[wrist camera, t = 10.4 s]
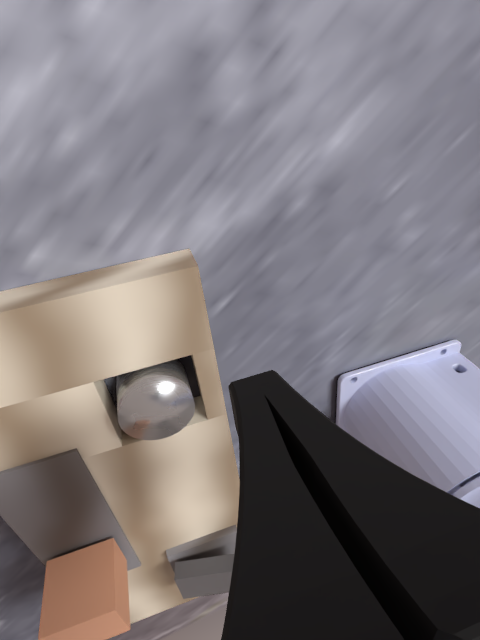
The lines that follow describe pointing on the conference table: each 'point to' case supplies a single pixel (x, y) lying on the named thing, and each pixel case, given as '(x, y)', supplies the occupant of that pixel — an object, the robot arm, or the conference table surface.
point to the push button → (154, 401)
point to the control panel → (113, 424)
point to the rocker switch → (204, 576)
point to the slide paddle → (86, 595)
